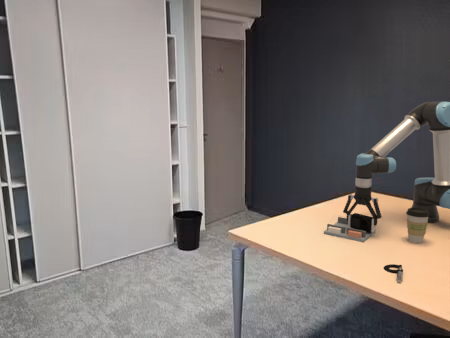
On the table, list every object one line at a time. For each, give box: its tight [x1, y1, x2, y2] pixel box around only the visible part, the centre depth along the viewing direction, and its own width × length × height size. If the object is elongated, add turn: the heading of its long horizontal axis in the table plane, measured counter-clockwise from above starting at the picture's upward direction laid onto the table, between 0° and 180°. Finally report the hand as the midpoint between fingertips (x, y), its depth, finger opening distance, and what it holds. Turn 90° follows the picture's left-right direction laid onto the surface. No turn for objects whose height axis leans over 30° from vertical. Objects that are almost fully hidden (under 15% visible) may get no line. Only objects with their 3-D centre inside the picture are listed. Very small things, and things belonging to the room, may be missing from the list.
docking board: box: [323, 216, 377, 243], centre depth 193 cm, size 20×18×4 cm
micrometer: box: [383, 263, 404, 284], centre depth 149 cm, size 15×7×2 cm, turn 154°
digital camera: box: [351, 212, 373, 233], centre depth 191 cm, size 10×5×7 cm, turn 40°
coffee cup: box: [406, 207, 430, 244], centre depth 180 cm, size 10×10×15 cm
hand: (361, 229), depth 192 cm, fingers closed on digital camera, 11 cm apart
